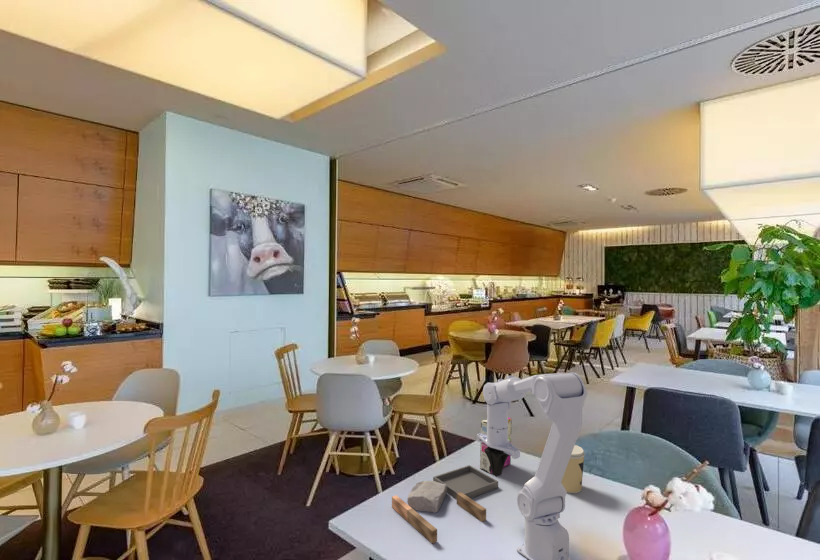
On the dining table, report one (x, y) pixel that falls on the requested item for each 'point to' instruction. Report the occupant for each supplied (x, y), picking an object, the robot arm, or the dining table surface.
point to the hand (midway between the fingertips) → (497, 475)
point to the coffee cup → (574, 471)
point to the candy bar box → (483, 457)
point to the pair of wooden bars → (424, 525)
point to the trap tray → (466, 482)
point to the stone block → (427, 496)
